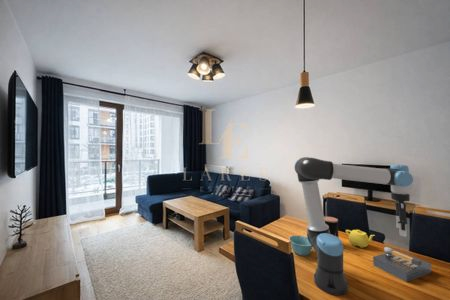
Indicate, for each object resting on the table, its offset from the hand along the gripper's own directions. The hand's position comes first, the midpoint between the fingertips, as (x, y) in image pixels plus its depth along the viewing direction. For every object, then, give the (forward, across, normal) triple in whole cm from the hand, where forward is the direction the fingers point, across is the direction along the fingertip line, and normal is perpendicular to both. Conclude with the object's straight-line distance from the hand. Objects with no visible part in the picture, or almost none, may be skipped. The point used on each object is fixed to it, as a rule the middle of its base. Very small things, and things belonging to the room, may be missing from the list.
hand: (401, 231), depth 105 cm
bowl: (+23, -8, +51) cm, 57 cm away
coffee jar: (+23, +18, +38) cm, 48 cm away
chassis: (+23, +6, 0) cm, 24 cm away
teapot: (+23, +27, +20) cm, 41 cm away
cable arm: (+17, +6, 0) cm, 18 cm away
